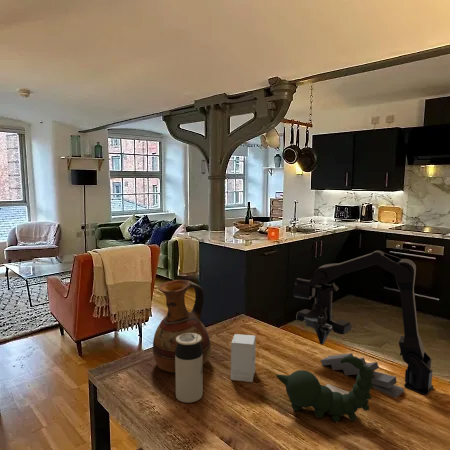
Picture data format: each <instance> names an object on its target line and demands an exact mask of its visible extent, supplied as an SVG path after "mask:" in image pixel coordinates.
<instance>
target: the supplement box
mask: <svg viewBox="0 0 450 450" xmlns="http://www.w3.org/2000/svg"><path fill="white" fill-rule="evenodd" d="M256 338H257V337H256V335H253V334H252V335H251V334H239V333H238V334H237V333H234V334H233V338H232V340H231V343H230V380H232V381H240V382H248V383H253V382H254V377H255V372H256V340H257V339H256Z"/></svg>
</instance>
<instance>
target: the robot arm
mask: <svg viewBox="0 0 450 450" xmlns="http://www.w3.org/2000/svg"><path fill="white" fill-rule="evenodd" d="M373 266H379V267H380V268H382V269H383V270H385V271H386V272H387V273H390V274H392V275H393V276H394V279H395V280H394V281H395V282H396V285H397V287H398V289H399V294H400V303H401V306H400V307H401V313H402V314H401V315H402V324H403V332H404V334H403V335H400V338H399V340H398V346H399V349H400V353H399V356H400V357H402V360H403V362H404V363H406V365H407V368H405V372H404V384H403V387H405V388H406V389H409V390H412V391H414V392H417V393H419V394H422V395H425V396H427V395H428V394H429V393H431V391H432V390H433V388H434V385H433V384H432V383H433V382H432V381H433V371H434V370H433V369H431V368H432V358H431V356H429V354H428V353H427V352H426V351H425V348H424V343H423V340H422V337H421V335H420V333H419V327H418V319H417V318H418V316H417V306H416V299H415V281H416V272H417V266H416V264H415V262H414V261H413V260H411V259H409V258H400V257H398V256H395V255H391V254H388V253H386V252H384V251H381V250H375V251H372V252H371V253H367V254H365V255H362V256H361V255H360V256H358V257H354V258H352V259H349V260H346V261H343V262H339V263H327V264H324V265H321V266H319V267H318V268H317V269H315V270H314V272H313V277H312V278H311V279H304V278H301V277H297V278H295V283H294V285H293V288H292V295H293V297H295V298H299V299H306V300H311V299H312V298H314V303H313V304H312V306H311V310H310V309H307V308H305V309H301V310H299V311H297V312H296V315H295V316H296V317H295V318H296V320H297V321H300V322H305V326H306V327H310V328H313V329H314V331H315V333H316V334H317V335H316V336H317V339H318V341H319V344H320V345H321V346H322V345H325V343H326V341H327V338H328V336H329V334H330V333H331V331H333V332H334V333H336V334H339V335H345V334H347V333H349V332H350V331H352V324H351V323H350V321H346V320H343V319H339V320H336V321H335V320H333V319H334V315H333V313H332V311H333V308H334V307H335V305H334V303H333V292H335V293H337V291H338V290H339V287H338V285H336V284H335V282H333V281H334V280H336V279H338V278H340V277H342V276H343V275H346V274H350V273H353V272H356V271H359V270H362V269H366V268H369V267H373ZM330 282H332V283H331V284H328V283H330Z"/></svg>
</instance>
